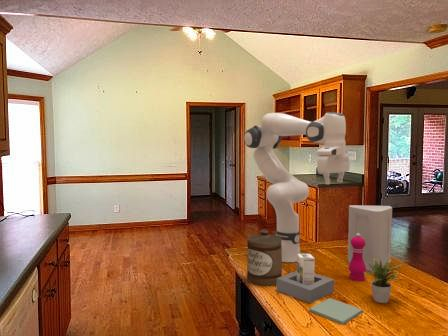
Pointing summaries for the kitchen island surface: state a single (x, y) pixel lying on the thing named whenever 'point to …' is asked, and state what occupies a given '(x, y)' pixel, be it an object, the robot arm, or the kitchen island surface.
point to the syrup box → (305, 268)
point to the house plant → (382, 280)
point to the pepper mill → (357, 259)
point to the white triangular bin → (371, 232)
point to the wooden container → (264, 259)
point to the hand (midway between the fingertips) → (333, 183)
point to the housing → (305, 287)
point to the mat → (336, 311)
